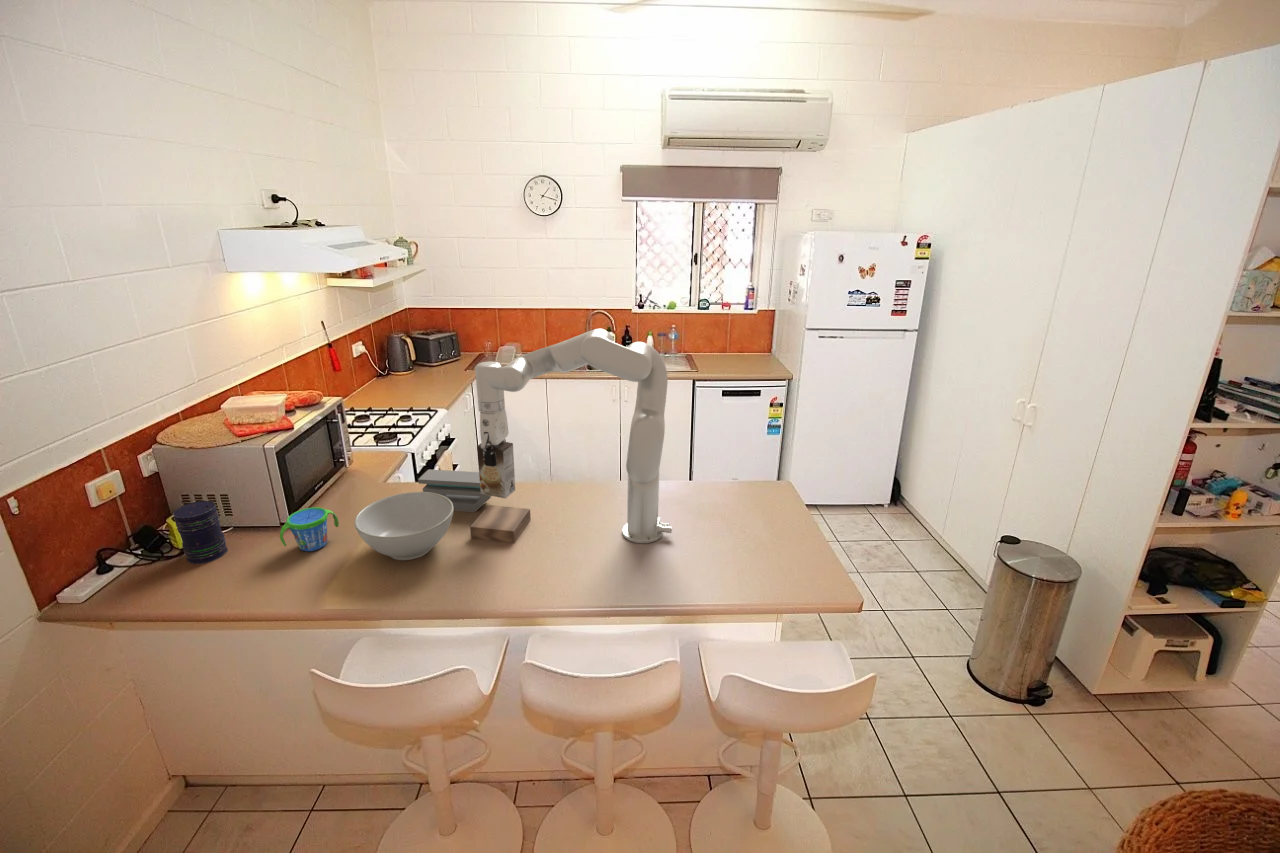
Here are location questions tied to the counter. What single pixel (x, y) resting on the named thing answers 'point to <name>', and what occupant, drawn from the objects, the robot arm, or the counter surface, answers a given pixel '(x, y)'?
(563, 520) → the counter surface
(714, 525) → the counter surface
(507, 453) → the coffee box
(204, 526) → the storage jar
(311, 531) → the snack cup
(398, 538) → the decorative bowl
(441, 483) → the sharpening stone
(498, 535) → the walnut riser
